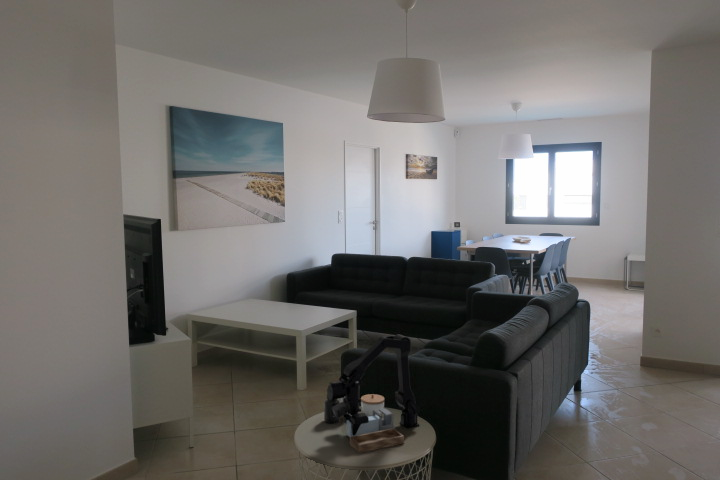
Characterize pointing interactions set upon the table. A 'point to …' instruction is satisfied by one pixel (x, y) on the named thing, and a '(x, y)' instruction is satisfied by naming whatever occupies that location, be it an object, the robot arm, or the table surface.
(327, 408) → the supplement bottle
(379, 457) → the table surface
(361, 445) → the tray
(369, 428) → the pale blue rectangular pillar
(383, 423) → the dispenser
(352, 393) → the robot arm
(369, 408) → the lidded jar
